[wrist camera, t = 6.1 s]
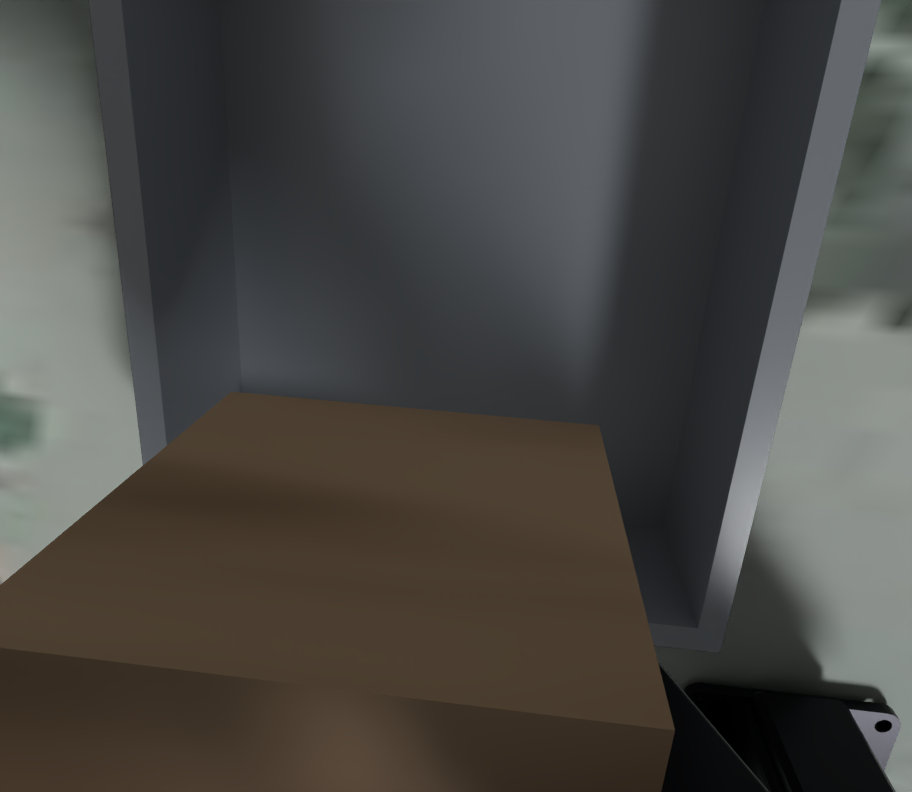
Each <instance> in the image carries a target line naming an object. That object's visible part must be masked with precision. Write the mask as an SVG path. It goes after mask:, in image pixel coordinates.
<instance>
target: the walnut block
mask: <svg viewBox="0 0 912 792" xmlns="http://www.w3.org/2000/svg"><path fill="white" fill-rule="evenodd" d="M674 733H675V728H674V724H673V720H672V716H671V712H670V708H669V704H668V700H667V696H666V692H665V688H664V684H663V680H662V676H661V672H660V668H659V664H658V660H657V656H656V652H655V648H654V644H653V640H652V636H651V632H650V628H649V624H648V620H647V616H646V612H645V608H644V604H643V600H642V596H641V592H640V588H639V584H638V580H637V576H636V572H635V568H634V564H633V560H632V556H631V552H630V548H629V544H628V540H627V536H626V532H625V528H624V524H623V520H622V516H621V512H620V508H619V504H618V500H617V496H616V492H615V488H614V484H613V480H612V475H611V471H610V467H609V463H608V459H607V455H606V451H605V447H604V443H603V439H602V435H601V431H600V427H599V425H590V424H579V423H568V422H558V421H547V420H536V419H525V418H514V417H503V416H492V415H481V414H470V413H459V412H448V411H437V410H426V409H415V408H404V407H394V406H383V405H372V404H361V403H350V402H339V401H328V400H317V399H306V398H295V397H284V396H273V395H262V394H251V393H240V392H230V393H229V394H228V395H227V396H225V397H224V398H223V399H222V400H221V401H219V402H218V403H217V404H216V405H215V406H214V407H212V408H211V409H210V410H209V411H208V412H206V413H205V414H204V415H203V416H202V417H200V418H199V419H198V420H197V421H196V422H194V423H193V424H192V425H191V426H190V427H188V428H187V429H186V430H185V431H184V432H183V433H181V434H180V435H179V436H178V437H177V438H175V439H174V440H173V441H172V442H171V443H169V444H168V445H167V446H166V447H165V448H163V449H162V450H161V451H160V452H159V453H157V454H156V455H155V456H154V457H153V458H152V459H150V460H149V461H148V462H147V463H146V464H144V465H143V466H142V467H141V468H140V469H138V470H137V471H136V472H135V473H134V474H132V475H131V476H130V477H129V478H128V479H126V480H125V481H124V482H123V483H122V484H121V485H119V486H118V487H117V488H116V489H115V490H113V491H112V492H111V493H110V494H109V495H107V496H106V497H105V498H104V499H103V500H101V501H100V502H99V503H98V504H97V505H95V506H94V507H93V508H92V509H91V510H89V511H88V512H87V513H86V514H85V515H84V516H82V517H81V518H80V519H79V520H78V521H76V522H75V523H74V524H73V525H72V526H70V527H69V528H68V529H67V530H66V531H64V532H63V533H62V534H61V535H60V536H58V537H57V538H56V539H55V540H54V541H53V542H51V543H50V544H49V545H48V546H47V547H45V548H44V549H43V550H42V551H41V552H39V553H38V554H37V555H36V556H35V557H33V558H32V559H31V560H30V561H29V562H27V563H26V564H25V565H24V566H23V567H22V568H20V569H19V570H18V571H17V572H16V573H14V574H13V575H12V576H11V577H10V578H8V579H7V580H6V581H5V582H4V583H2V584H1V585H0V792H661V790H662V786H663V782H664V777H665V773H666V768H667V764H668V759H669V755H670V751H671V746H672V742H673V737H674Z"/></svg>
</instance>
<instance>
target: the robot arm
mask: <svg viewBox="0 0 912 792" xmlns="http://www.w3.org/2000/svg"><path fill="white" fill-rule="evenodd" d="M658 664H659V668H660V672H661V676H662V680H663V684H664V688H665V692H666V696H667V700H668V704H669V708H670V712H671V716H672V720H673V724H674V728H675V733H674V737H673V742H672V746H671V751H670V755H669V759H668V764H667V768H666V773H665V777H664V782H663V786H662V790H661V792H895V790H894V788H893V786H892V785H891V783H890V781H889V779H888V778H887V776H886V774H885V772H884V769H885V766H886V764H887V761H888V759H889V756H890V753H891V751H892V748H893V745H894V743H895V740H896V738H897V735H898V732H899V730H900V725H901V723H900V721H899V719H898V717H897V716H896V714H895V713H894V711H893V709H892V708H890V707H889V706H888V705H885V704H880V703H872V702H863V701H854V700H846V699H837V698H829V697H820V696H811V695H803V694H794V693H786V692H777V691H769V690H760V689H751V688H743V687H734V686H726V685H717V684H708V683H693V684H691V685H689V686H687V687H686V688H685V689H684V691H683V690H682V689H681V688H680V686H679V685H678V684H677V683H676V682H675V680H674V679H673V678H672V677H671V676H670V675H669V673H668V672H667V671H666V670H665V669H664V668H663V666H662V665H661V664H660V663H659V662H658ZM699 698H704V700H702V701H695V700H697V699H699ZM880 720H882V721H880ZM878 721H880V722H878Z"/></svg>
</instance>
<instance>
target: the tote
mask: <svg viewBox="0 0 912 792" xmlns="http://www.w3.org/2000/svg"><path fill="white" fill-rule="evenodd" d="M880 3H881V0H89V9H90V17H91V26H92V35H93V43H94V52H95V60H96V69H97V77H98V86H99V94H100V103H101V111H102V120H103V128H104V137H105V145H106V154H107V163H108V171H109V180H110V188H111V197H112V205H113V214H114V222H115V231H116V239H117V248H118V256H119V265H120V273H121V282H122V291H123V299H124V308H125V316H126V325H127V333H128V342H129V350H130V359H131V367H132V376H133V384H134V393H135V401H136V410H137V419H138V427H139V436H140V444H141V453H142V461H143V465H144V464H146V463H147V462H148V461H149V460H150V459H152V458H153V457H154V456H155V455H156V454H157V453H159V452H160V451H161V450H162V449H163V448H165V447H166V446H167V445H168V444H169V443H171V442H172V441H173V440H174V439H175V438H177V437H178V436H179V435H180V434H181V433H183V432H184V431H185V430H186V429H187V428H188V427H190V426H191V425H192V424H193V423H194V422H196V421H197V420H198V419H199V418H200V417H202V416H203V415H204V414H205V413H206V412H208V411H209V410H210V409H211V408H212V407H214V406H215V405H216V404H217V403H218V402H219V401H221V400H222V399H223V398H224V397H225V396H227V395H228V394H229V393H230V392H240V393H251V394H262V395H273V396H284V397H295V398H306V399H317V400H328V401H339V402H350V403H361V404H372V405H383V406H394V407H404V408H415V409H426V410H437V411H448V412H459V413H470V414H481V415H492V416H503V417H514V418H525V419H536V420H547V421H558V422H568V423H579V424H590V425H599V427H600V431H601V435H602V439H603V443H604V447H605V451H606V455H607V459H608V463H609V467H610V471H611V475H612V480H613V484H614V488H615V492H616V496H617V500H618V504H619V508H620V512H621V516H622V520H623V524H624V528H625V532H626V536H627V540H628V544H629V548H630V552H631V556H632V560H633V564H634V568H635V572H636V576H637V580H638V584H639V588H640V592H641V596H642V600H643V604H644V608H645V612H646V616H647V620H648V624H649V628H650V632H651V636H652V640H653V644H654V646H661V647H670V648H679V649H688V650H696V651H705V652H714V653H720V652H721V648H722V644H723V640H724V636H725V632H726V628H727V624H728V620H729V616H730V611H731V607H732V603H733V599H734V595H735V591H736V587H737V583H738V579H739V575H740V571H741V567H742V563H743V559H744V555H745V551H746V547H747V542H748V538H749V534H750V530H751V526H752V522H753V518H754V514H755V510H756V506H757V502H758V498H759V494H760V490H761V486H762V482H763V478H764V474H765V469H766V465H767V461H768V457H769V453H770V449H771V445H772V441H773V437H774V433H775V429H776V425H777V421H778V417H779V413H780V409H781V405H782V401H783V396H784V392H785V388H786V384H787V380H788V376H789V372H790V368H791V364H792V360H793V356H794V352H795V348H796V344H797V340H798V336H799V332H800V327H801V323H802V319H803V315H804V311H805V307H806V303H807V299H808V295H809V291H810V287H811V283H812V279H813V275H814V271H815V267H816V263H817V259H818V254H819V250H820V246H821V242H822V238H823V234H824V230H825V226H826V222H827V218H828V214H829V210H830V206H831V202H832V198H833V194H834V190H835V185H836V181H837V177H838V173H839V169H840V165H841V161H842V157H843V153H844V149H845V145H846V141H847V137H848V133H849V129H850V125H851V121H852V117H853V112H854V108H855V104H856V100H857V96H858V92H859V88H860V84H861V80H862V76H863V72H864V68H865V64H866V60H867V56H868V52H869V48H870V43H871V39H872V35H873V31H874V27H875V23H876V19H877V15H878V11H879V7H880Z"/></svg>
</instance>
